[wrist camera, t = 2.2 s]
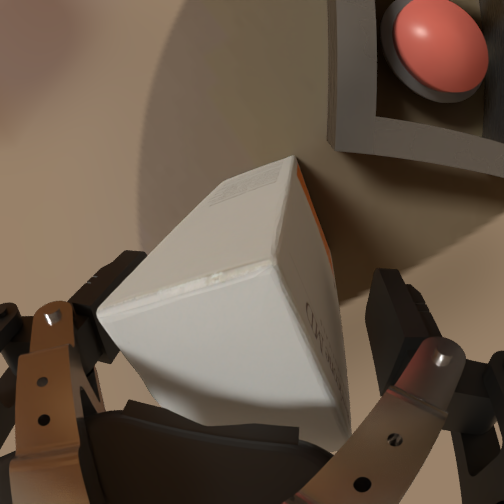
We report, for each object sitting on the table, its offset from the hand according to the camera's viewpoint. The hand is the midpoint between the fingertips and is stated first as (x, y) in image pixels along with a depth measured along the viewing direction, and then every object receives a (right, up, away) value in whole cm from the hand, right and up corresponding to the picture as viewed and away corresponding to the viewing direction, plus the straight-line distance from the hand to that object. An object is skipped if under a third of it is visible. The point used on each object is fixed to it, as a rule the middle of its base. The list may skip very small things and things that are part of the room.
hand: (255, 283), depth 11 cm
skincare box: (+1, +3, +6) cm, 7 cm away
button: (+8, +10, -1) cm, 13 cm away
